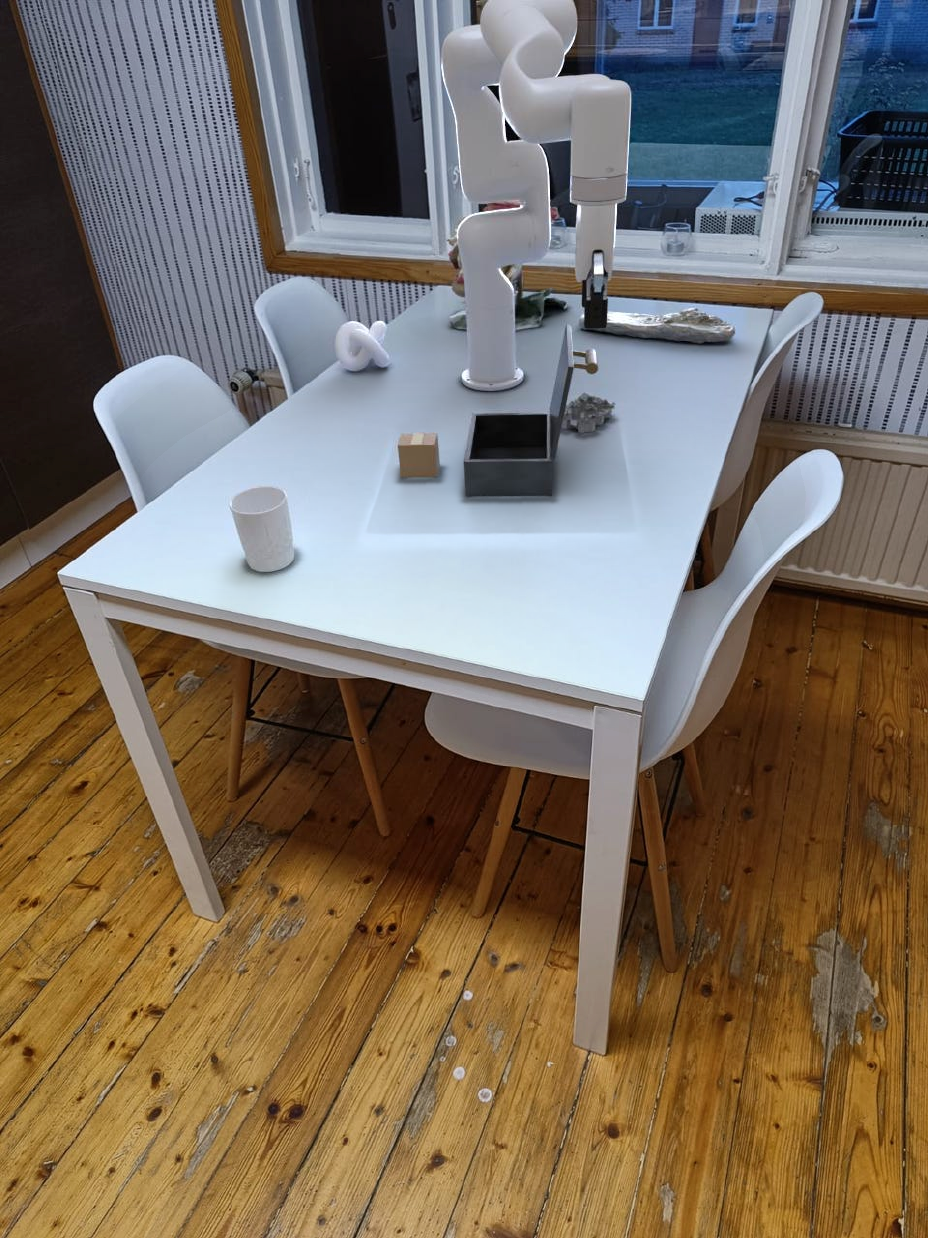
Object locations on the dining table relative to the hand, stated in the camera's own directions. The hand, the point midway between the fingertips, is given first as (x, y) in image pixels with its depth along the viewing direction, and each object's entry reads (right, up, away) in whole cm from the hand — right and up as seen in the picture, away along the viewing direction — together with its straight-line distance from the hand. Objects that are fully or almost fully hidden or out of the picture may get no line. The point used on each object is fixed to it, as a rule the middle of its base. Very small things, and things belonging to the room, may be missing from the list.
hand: (593, 316), depth 126 cm
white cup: (-47, -36, -1) cm, 59 cm away
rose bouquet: (-10, +29, +82) cm, 87 cm away
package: (-26, -20, +18) cm, 38 cm away
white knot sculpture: (-40, +11, +60) cm, 73 cm away
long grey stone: (+24, +19, +66) cm, 73 cm away
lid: (-4, -9, +7) cm, 12 cm away
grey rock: (+3, -9, +31) cm, 32 cm away
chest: (-11, -20, +17) cm, 29 cm away
